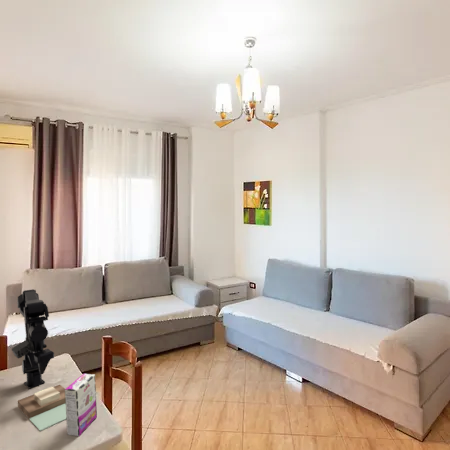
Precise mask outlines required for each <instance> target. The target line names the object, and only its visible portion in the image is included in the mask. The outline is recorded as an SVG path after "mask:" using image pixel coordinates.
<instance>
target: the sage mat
mask: <svg viewBox="0 0 450 450" xmlns="http://www.w3.org/2000/svg"><path fill="white" fill-rule="evenodd" d="M29 421H30V422H31V423H32V424H33V426H35V427H36V428H37V429H38V430H39V432H43V431H44V430H46V429H49V428H50V427H53V426H56V425H58V424H60V423H62V422H63V421H67V420H66V403H65V404H62V405H60V406H58V407H55V408H53V409H51V410H48V411H46V412H44V413H41V414H39V415H36V416H34V417H32V418H29Z"/></svg>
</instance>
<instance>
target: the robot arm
mask: <svg viewBox="0 0 450 450" xmlns="http://www.w3.org/2000/svg"><path fill="white" fill-rule="evenodd" d="M16 300H17V302H16V305H17V306H16V308H17V309H18V310H19V313H20V314H21V316H22V317H23V319H24V320H23V322H24V330H25V340H24V341H22V342H20V343H18V344H16V345H15V346H14V347H12V348H11V351H12V353H13V355H14V357H16V358H17V359H21V358H23V359H22V363H21V367H22V369H21V370H22V373H23V375H26V381H24V382H23V385H25V386H26V387H27V389H33V388H34V387H37V386H39V385H40V386H41V385H43V384H45V383H46V381H45V380H44V379H42V378H43V376H42V375H44V373H45V371H46V369H47V366H48V364H49V363H50V361H51V360H52V359H54V358H55V352H54V351H52V350H51V349H49V348H47V347H48V346H47V344H45V340H46V338H47V337H48V334H49V331H48V328H47V326H46V325H45V322H46V321H48V320H49V319H48V318H49V317H50V314H49V313H50V312H49V307H48V305H47V304H46V303H45V302H44V301H43V300H42V299H40V297H39V293H37V291H36V289H27V290H25V289H24V290H23V291H22V293H21V294H19V295H18V296H17V299H16Z"/></svg>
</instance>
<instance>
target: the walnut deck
mask: <svg viewBox="0 0 450 450" xmlns="http://www.w3.org/2000/svg"><path fill="white" fill-rule="evenodd" d="M53 387H54V388H55V389H56V390H57V391H58V392H60V399H58V400H56V401H53V402H51V403H48V404H46V405H44V406H40V405H39V404H38V403H37V402H36V401H35V400H34V394H31V395H29V396H26V397H24V398H21V399H18V400H17V408H19V410H20V411H21V412H22V413H23V414H24V416H25V417H26V418H27V419H29V418H32V417H34V416H36V415H39V414H41V413H44V412H46V411H48V410H51V409H53V408H55V407H58V406H60V405H62V404H65V389H66V388H65V387H64V386H62V385H61V384H57V385H54V386H53Z"/></svg>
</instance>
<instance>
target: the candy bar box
mask: <svg viewBox="0 0 450 450" xmlns="http://www.w3.org/2000/svg"><path fill="white" fill-rule="evenodd" d="M96 388H97V387H96V374H91V373H83V374H81V375H80V376H79V377H78V378H76V379H75V380H74V381H73V382H71V384H69V385H68V386H67V387H66V388H65V403H66V420H65V421H66V435H67V436H73V437H80V436H82V434H83V433H84V432H85V431H86V430H87V428H89V426H91V424H92V423H93V422H94V421H95V420H96V419H97V417H98V413H97V410H98V409H97V389H96Z"/></svg>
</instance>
